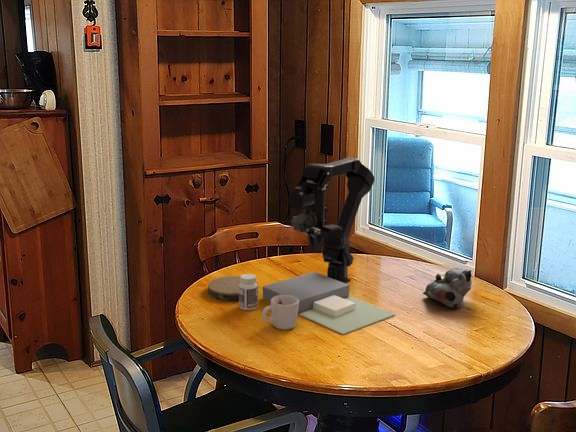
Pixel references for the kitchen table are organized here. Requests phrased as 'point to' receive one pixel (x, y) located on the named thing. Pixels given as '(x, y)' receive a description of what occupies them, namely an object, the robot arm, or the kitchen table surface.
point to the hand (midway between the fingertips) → (314, 252)
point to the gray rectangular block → (307, 289)
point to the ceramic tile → (334, 305)
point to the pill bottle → (248, 292)
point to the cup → (282, 311)
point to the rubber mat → (349, 317)
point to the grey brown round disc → (225, 288)
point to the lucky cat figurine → (450, 287)
